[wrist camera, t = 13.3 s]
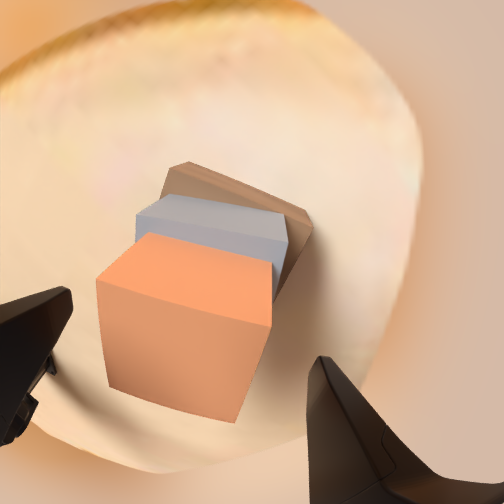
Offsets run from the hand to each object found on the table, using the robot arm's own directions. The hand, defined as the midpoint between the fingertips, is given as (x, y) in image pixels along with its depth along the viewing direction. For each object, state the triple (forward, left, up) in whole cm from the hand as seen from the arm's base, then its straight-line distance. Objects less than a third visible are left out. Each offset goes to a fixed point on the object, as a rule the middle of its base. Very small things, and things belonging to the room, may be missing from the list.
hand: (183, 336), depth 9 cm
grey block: (0, 0, -7) cm, 7 cm away
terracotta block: (0, 0, -3) cm, 3 cm away
